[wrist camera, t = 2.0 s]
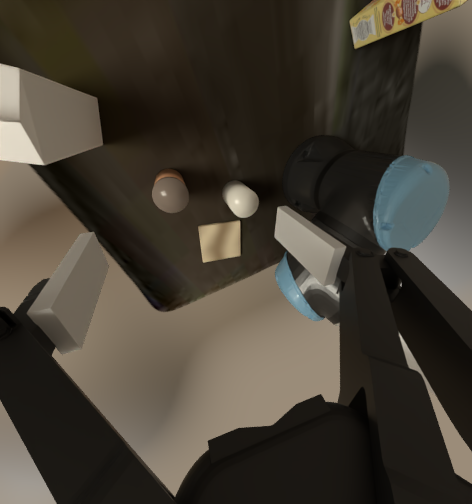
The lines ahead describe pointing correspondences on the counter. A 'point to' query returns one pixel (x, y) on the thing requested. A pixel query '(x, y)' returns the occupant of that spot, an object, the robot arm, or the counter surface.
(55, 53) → the counter surface
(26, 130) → the milk
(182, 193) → the jar
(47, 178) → the counter surface
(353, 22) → the candy box
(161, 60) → the counter surface
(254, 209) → the white rounded cylinder
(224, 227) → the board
